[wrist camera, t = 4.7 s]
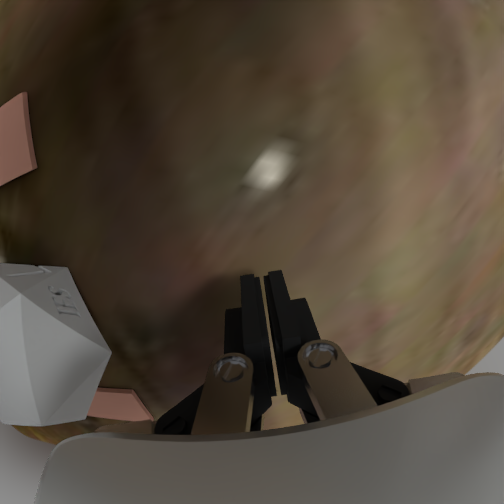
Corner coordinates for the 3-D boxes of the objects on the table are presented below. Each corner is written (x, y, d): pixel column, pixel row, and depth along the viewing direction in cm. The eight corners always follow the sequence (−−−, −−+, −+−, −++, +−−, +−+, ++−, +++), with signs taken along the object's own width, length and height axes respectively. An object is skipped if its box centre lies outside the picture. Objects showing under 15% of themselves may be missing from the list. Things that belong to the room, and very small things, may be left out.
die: (154, 290, 14) (-25, 275, 4) (133, 428, 13) (9, 492, 3) (62, 257, 16) (-60, 230, 6) (50, 371, 15) (-57, 386, 5)
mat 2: (133, 389, 16) (131, 393, 16) (153, 418, 18) (153, 422, 18) (38, 379, 16) (36, 382, 16) (62, 407, 18) (60, 410, 18)
